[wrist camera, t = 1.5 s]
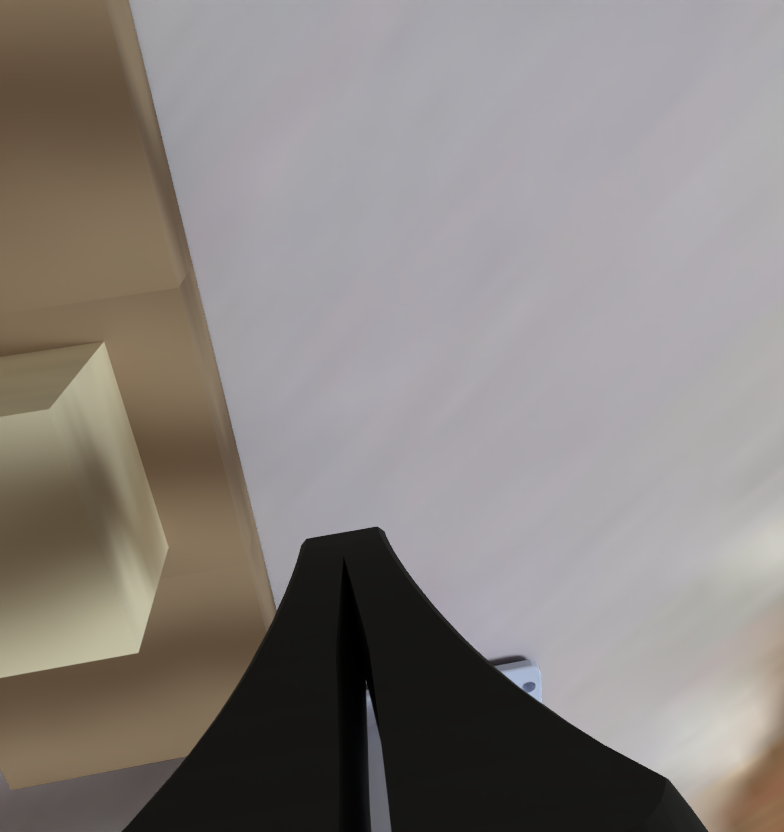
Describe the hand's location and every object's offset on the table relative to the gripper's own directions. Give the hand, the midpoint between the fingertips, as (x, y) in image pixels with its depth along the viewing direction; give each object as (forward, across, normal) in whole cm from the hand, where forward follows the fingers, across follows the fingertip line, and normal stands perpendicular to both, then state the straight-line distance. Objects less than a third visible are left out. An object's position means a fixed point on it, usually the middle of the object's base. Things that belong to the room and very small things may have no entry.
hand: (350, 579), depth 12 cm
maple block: (+7, +8, 0) cm, 10 cm away
